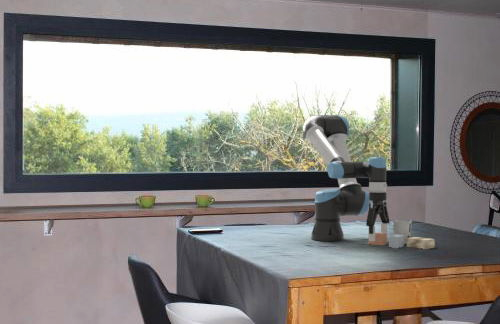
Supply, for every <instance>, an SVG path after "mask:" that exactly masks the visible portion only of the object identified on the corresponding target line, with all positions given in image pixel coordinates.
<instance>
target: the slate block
mask: <svg viewBox="0 0 500 324" xmlns="http://www.w3.org/2000/svg"><path fill="white" fill-rule="evenodd" d="M389 247H392V248H391V249H400V248H403V247H405V244H404V235H396V234H395V235H394V234H392V235H389V236H388V248H389ZM399 247H400V248H399Z"/></svg>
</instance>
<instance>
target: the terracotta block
mask: <svg viewBox="0 0 500 324" xmlns="http://www.w3.org/2000/svg"><path fill="white" fill-rule="evenodd" d="M367 236H368V239H367V240H368V245H374V246H386V245H387V244H388V243H387V242H388V232H387V233H381V232H377V231H375V241H369V232H368V235H367ZM385 244H386V245H385Z"/></svg>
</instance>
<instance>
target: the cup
mask: <svg viewBox="0 0 500 324" xmlns="http://www.w3.org/2000/svg"><path fill="white" fill-rule="evenodd" d="M392 224H393V225H392V226H393V233H394V234H393V235H395V234H396V235H404V245H407V238H410V237H411V232H412V220H411V219H410V220H409V219H394V220H393V221H392Z"/></svg>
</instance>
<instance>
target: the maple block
mask: <svg viewBox="0 0 500 324" xmlns="http://www.w3.org/2000/svg"><path fill="white" fill-rule="evenodd" d="M435 240H436V239H435V238H428V237H421V236H412V237H411V236H410V238H407V244H406V248H407V247H408V248H414V249H421V248H422V249H423V250H430V248H431V249H435Z"/></svg>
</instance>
